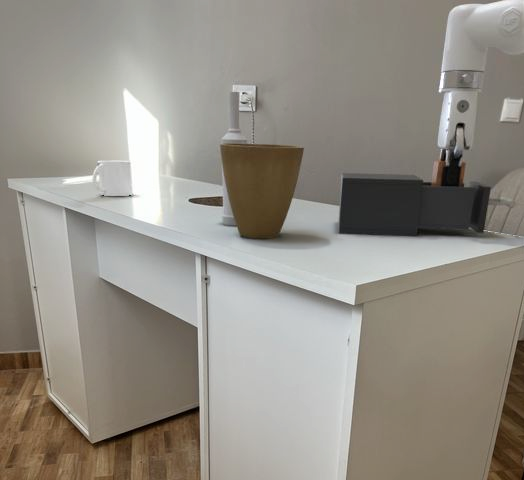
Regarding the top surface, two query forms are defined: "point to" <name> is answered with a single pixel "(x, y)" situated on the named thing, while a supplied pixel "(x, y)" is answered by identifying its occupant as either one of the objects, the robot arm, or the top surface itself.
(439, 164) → the block
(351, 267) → the top surface
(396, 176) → the cabinet
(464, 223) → the drawer
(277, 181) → the plant pot
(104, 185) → the mug
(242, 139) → the bottle
